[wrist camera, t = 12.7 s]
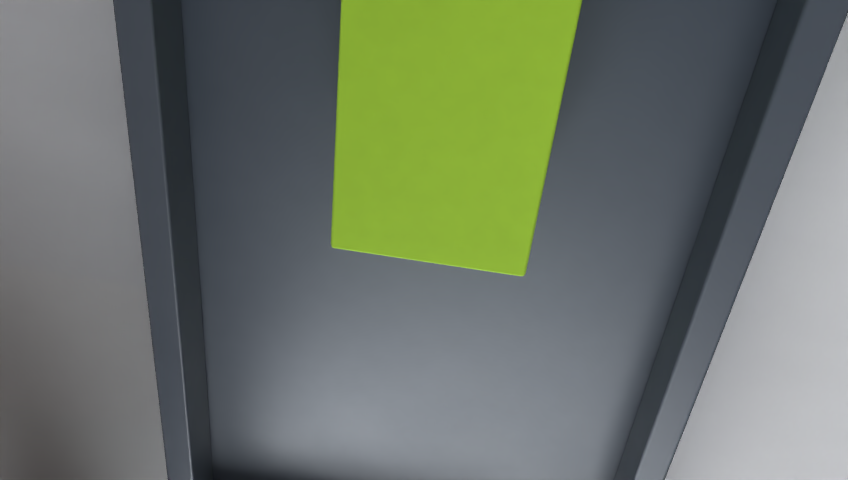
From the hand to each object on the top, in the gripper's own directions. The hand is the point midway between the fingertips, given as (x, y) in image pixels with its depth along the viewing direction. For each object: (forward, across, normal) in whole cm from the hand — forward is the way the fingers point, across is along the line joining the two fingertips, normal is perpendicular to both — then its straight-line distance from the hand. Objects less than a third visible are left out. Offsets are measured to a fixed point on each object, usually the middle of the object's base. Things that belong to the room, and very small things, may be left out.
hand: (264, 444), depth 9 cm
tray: (+10, -1, +5) cm, 11 cm away
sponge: (+10, -1, -1) cm, 10 cm away
